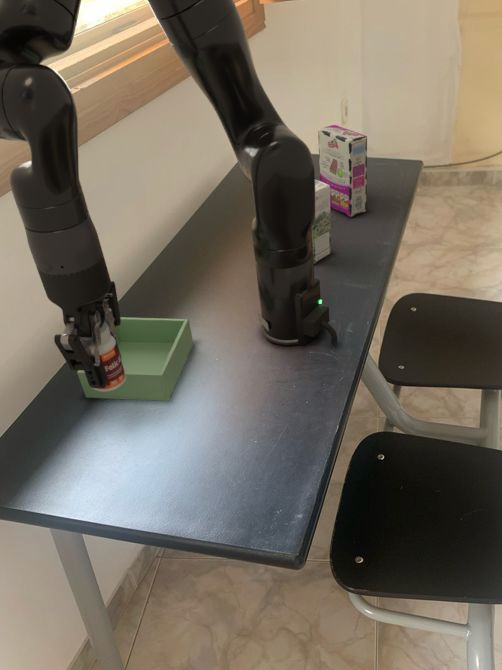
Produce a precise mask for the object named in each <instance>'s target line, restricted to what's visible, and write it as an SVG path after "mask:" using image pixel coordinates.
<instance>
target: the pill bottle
mask: <svg viewBox="0 0 502 670" xmlns="http://www.w3.org/2000/svg"><path fill="white" fill-rule="evenodd" d="M100 335H101V342H102V344H101V346H100V347H99V356H100V362H101V364H102V367H103V370H104V373H105V376H106V379H107V382H108V384H107V386H106V387H105V388H93V389H95V390H97V391H102V392H106V391H111V390H114V389H117V388H118V387H120V386H121V385H122V384H123V383H124V382H125V380H126V375H125V371H124V368H123V364H122V361H121V358H120V354H119V351H118V347H117V344H116V340H115V339H114V337H113V336H112V335H110V330H109V327H108V325H107V323H105V322H104V324H103V325H102V327H101V328H100ZM78 337H79V336H78ZM79 338H82V340H84V341H93V338H92V337H90V338H88V337H79ZM85 349H86V351H87V353H88V355H89V356H91V350H90V349H87V348H85Z"/></svg>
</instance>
